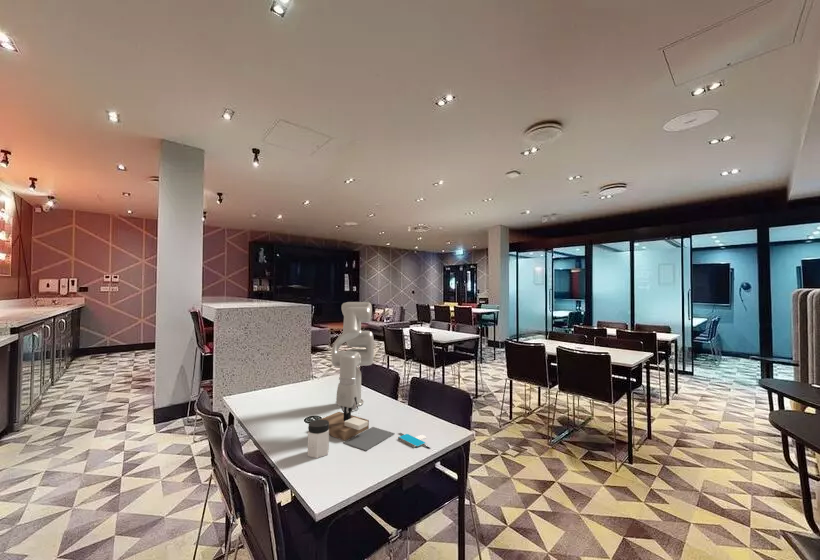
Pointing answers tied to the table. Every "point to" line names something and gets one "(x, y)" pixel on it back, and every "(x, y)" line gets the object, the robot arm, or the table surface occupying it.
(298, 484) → the table surface
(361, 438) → the mat
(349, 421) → the cream flat block
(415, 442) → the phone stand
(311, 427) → the jar
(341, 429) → the platform
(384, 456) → the table surface
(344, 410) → the robot arm
